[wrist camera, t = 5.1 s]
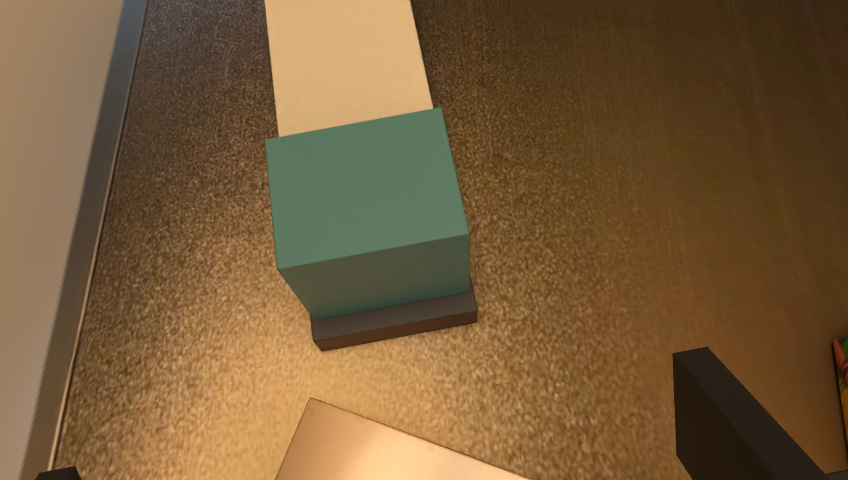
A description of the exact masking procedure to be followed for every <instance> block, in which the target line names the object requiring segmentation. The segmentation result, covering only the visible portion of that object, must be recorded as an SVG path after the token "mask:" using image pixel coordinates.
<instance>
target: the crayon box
mask: <svg viewBox="0 0 848 480" xmlns="http://www.w3.org/2000/svg"><path fill="white" fill-rule="evenodd" d="M833 345H834V352H835V358H836V365H837V373H838V381H839V389H840V394H841V401H842V407H843V415H844V423H845V430H846V439H847V445H848V333H847V334H845V335H843V336H841V337H839V338H837V339H835V340H834V341H833Z"/></svg>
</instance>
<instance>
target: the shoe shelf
mask: <svg viewBox="0 0 848 480" xmlns="http://www.w3.org/2000/svg"><path fill="white" fill-rule="evenodd" d="M275 480H533V479H531V478H528V477H525V476H523V475H520V474H517V473H515V472H512V471H509V470H506V469H504V468H501V467H498V466H496V465H493V464H490V463H488V462H485V461H482V460H479V459H477V458H474V457H471V456H469V455H466V454H463V453H461V452H458V451H455V450H452V449H450V448H447V447H444V446H442V445H439V444H436V443H434V442H431V441H428V440H425V439H423V438H420V437H417V436H415V435H412V434H409V433H407V432H404V431H401V430H398V429H396V428H393V427H390V426H388V425H385V424H382V423H380V422H377V421H374V420H371V419H369V418H366V417H363V416H361V415H358V414H355V413H353V412H350V411H347V410H344V409H342V408H339V407H336V406H334V405H331V404H328V403H326V402H323V401H320V400H317V399H315V398H312V397H311V398H309V400H308V403H307V405H306V407H305V410H304V412H303V414H302V417H301V419H300V422H299V424H298V426H297V429H296V431H295V433H294V436H293V438H292V441H291V443H290V445H289V448H288V450H287V452H286V455H285V457H284V460H283V462H282V464H281V467H280V469H279V471H278V474H277V476H276V479H275Z"/></svg>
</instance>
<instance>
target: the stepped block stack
mask: <svg viewBox="0 0 848 480" xmlns="http://www.w3.org/2000/svg"><path fill="white" fill-rule="evenodd" d="M265 9H266V18H267V28H268V38H269V47H270V57H271V67H272V76H273V86H274V95H275V105H276V115H277V124H278V134H279V137H276V138H271V139H266V140H265V148H266V158H267V169H268V180H269V190H270V201H271V212H272V222H273V233H274V244H275V254H276V265H277V270H278V271H279V272H280V274H281V275H282V276H283V278H284V279H285V281H286V282H287V283H288V285H289V286H290V287H291V289H292V290H293V291H294V293H295V294H296V295H297V297H298V298H299V299H300V301H301V302H302V303H303V305H304V306H305V308H306V309H307V310H308V312H309V313H310V318H311V327H312V336H313V341H314V343H315V344H316V345H317V346H318V348H319V349H320V350H321V351H326V350H331V349H337V348H342V347H347V346H353V345H358V344H363V343H368V342H374V341H379V340H384V339H390V338H395V337H400V336H406V335H411V334H416V333H422V332H427V331H432V330H438V329H443V328H448V327H454V326H459V325H464V324H469V323H475V322H477V313H478V309H477V305H476V300H475V295H474V291H473V286H472V282H471V277H470V272H469V230H468V225H467V221H466V216H465V212H464V207H463V203H462V198H461V194H460V189H459V185H458V180H457V176H456V171H455V167H454V162H453V158H452V153H451V149H450V144H449V140H448V135H447V131H446V126H445V122H444V117H443V113H442V108H441V107H439V108H434V106H433V102H432V97H431V93H430V88H429V83H428V79H427V74H426V69H425V65H424V60H423V56H422V51H421V46H420V42H419V37H418V33H417V28H416V23H415V19H414V14H413V10H412V5H411V0H265Z"/></svg>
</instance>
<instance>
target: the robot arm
mask: <svg viewBox="0 0 848 480" xmlns="http://www.w3.org/2000/svg"><path fill="white" fill-rule="evenodd" d="M673 376H674V402H675V428H676V454H677V456H678V458H679V460H680V461H681V463H682V464H683V466H684V467H685V469H686V470H687V472H688V473H689V475H690V476H691V478H692V479H693V480H848V470H843V471H838V472H833V473H828V474H825V473H824V472H823V471H822V470H821V469H820V468H819V467H818V466H817V465H816V464H815V463H814V461H813V460H812V459H811V458H810V457H809V456H808V455H807V454H806V453H805V452H804V451H803V450H802V449H801V447H800V446H799V445H798V444H797V443H796V442H795V441H794V440H793V439H792V438H791V437H790V436H789V435H788V433H787V432H786V431H785V430H784V429H783V428H782V427H781V426H780V425H779V424H778V423H777V422H776V421H775V419H774V418H773V417H772V416H771V415H770V414H769V413H768V412H767V411H766V410H765V409H764V408H763V406H762V405H761V404H760V403H759V402H758V401H757V400H756V399H755V398H754V397H753V396H752V395H751V394H750V392H749V391H748V390H747V389H746V388H745V387H744V386H743V385H742V384H741V383H740V382H739V381H738V380H737V378H736V377H735V376H734V375H733V374H732V373H731V372H730V371H729V370H728V369H727V368H726V367H725V365H724V364H723V363H722V362H721V361H720V360H719V359H718V358H717V357H716V356H715V355H714V354H713V353H712V351H711V350H710V349H709V348H708V347H703V348H698V349H693V350H687V351H682V352H677V353H673ZM35 480H81V478H80V476H79V474H78V472H77V469H76V467H75V466H73V467H68V468H63V469H57V470H52V471H47V472H42V473H39V475H38V476H37V478H36V479H35Z"/></svg>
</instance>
